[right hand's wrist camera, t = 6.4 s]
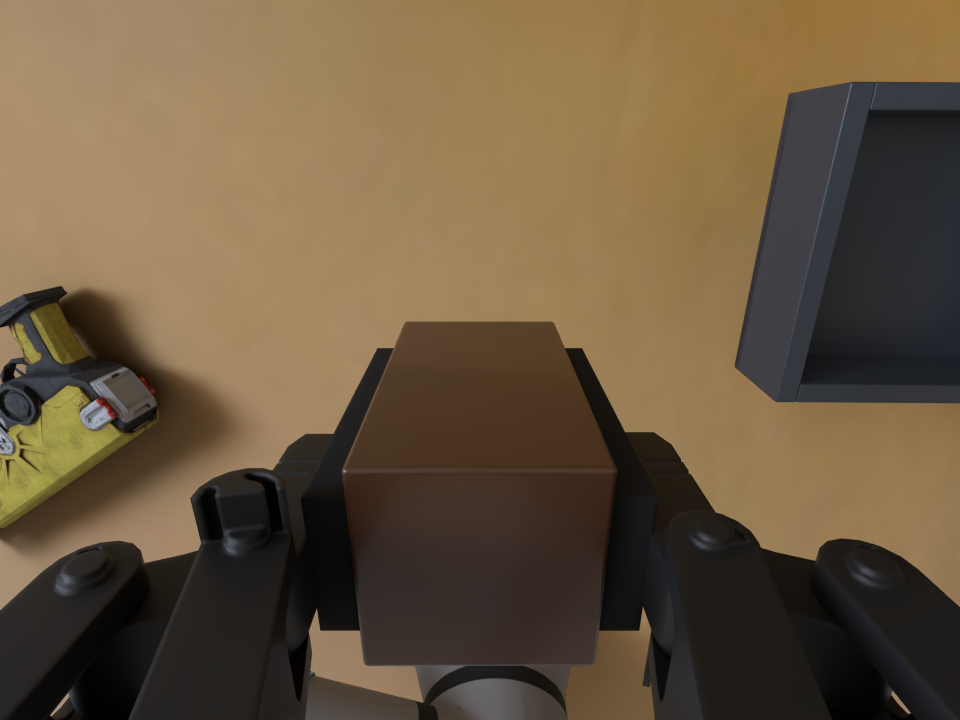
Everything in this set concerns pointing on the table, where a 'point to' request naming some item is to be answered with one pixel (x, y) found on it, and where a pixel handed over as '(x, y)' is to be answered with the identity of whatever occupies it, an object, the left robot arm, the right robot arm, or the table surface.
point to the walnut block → (479, 502)
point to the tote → (860, 249)
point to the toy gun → (59, 406)
